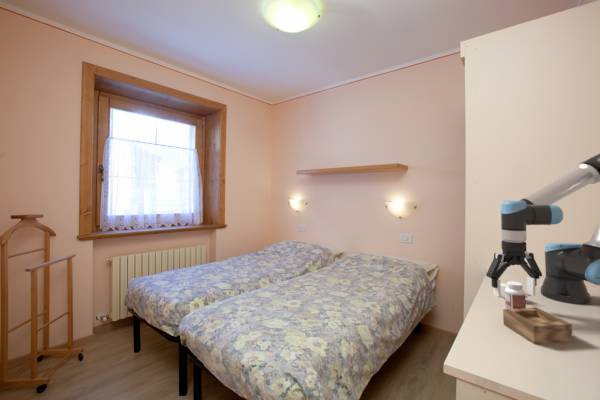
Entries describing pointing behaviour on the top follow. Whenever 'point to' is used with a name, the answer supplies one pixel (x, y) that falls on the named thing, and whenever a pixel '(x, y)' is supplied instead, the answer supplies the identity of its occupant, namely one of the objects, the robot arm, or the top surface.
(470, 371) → the top surface
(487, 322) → the top surface
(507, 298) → the pill bottle
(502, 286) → the power adapter
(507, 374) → the top surface
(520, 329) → the wooden box
